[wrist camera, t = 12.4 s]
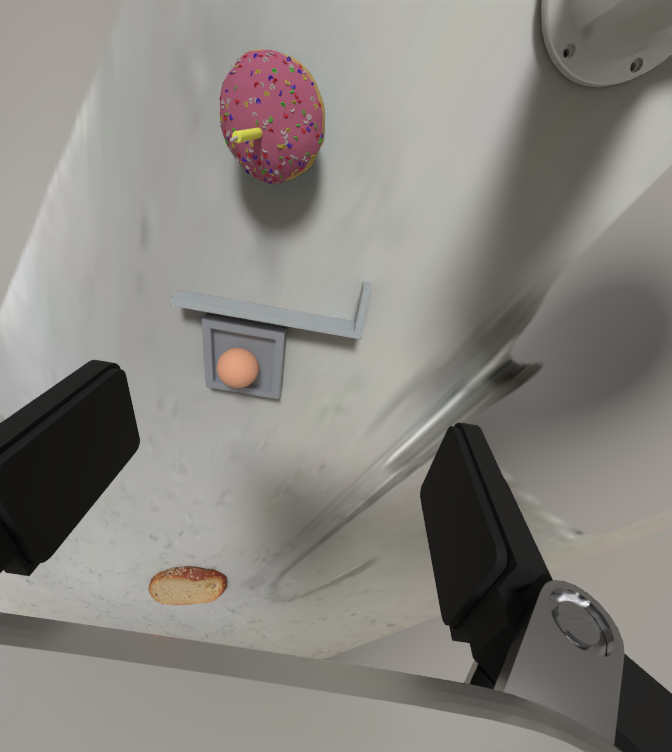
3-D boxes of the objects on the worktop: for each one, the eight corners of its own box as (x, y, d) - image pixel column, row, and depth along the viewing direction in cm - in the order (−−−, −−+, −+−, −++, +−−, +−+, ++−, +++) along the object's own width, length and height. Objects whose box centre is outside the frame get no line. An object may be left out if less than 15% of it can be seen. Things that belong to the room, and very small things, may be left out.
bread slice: (151, 590, 82) (142, 607, 79) (150, 553, 73) (141, 571, 69) (222, 605, 84) (216, 622, 81) (230, 571, 74) (224, 589, 71)
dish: (287, 327, 41) (284, 333, 39) (281, 392, 46) (278, 399, 45) (207, 313, 41) (201, 319, 39) (211, 379, 46) (205, 387, 44)
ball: (264, 345, 41) (251, 365, 37) (263, 377, 44) (250, 399, 40) (226, 337, 41) (208, 356, 37) (227, 370, 44) (210, 391, 40)
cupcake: (301, 199, 33) (275, 211, 23) (224, 147, 31) (158, 134, 21) (346, 107, 29) (338, 72, 19) (261, 39, 27) (201, -39, 17)
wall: (370, 282, 37) (370, 290, 35) (360, 328, 40) (359, 339, 38) (177, 247, 37) (164, 252, 34) (182, 297, 40) (170, 305, 37)
